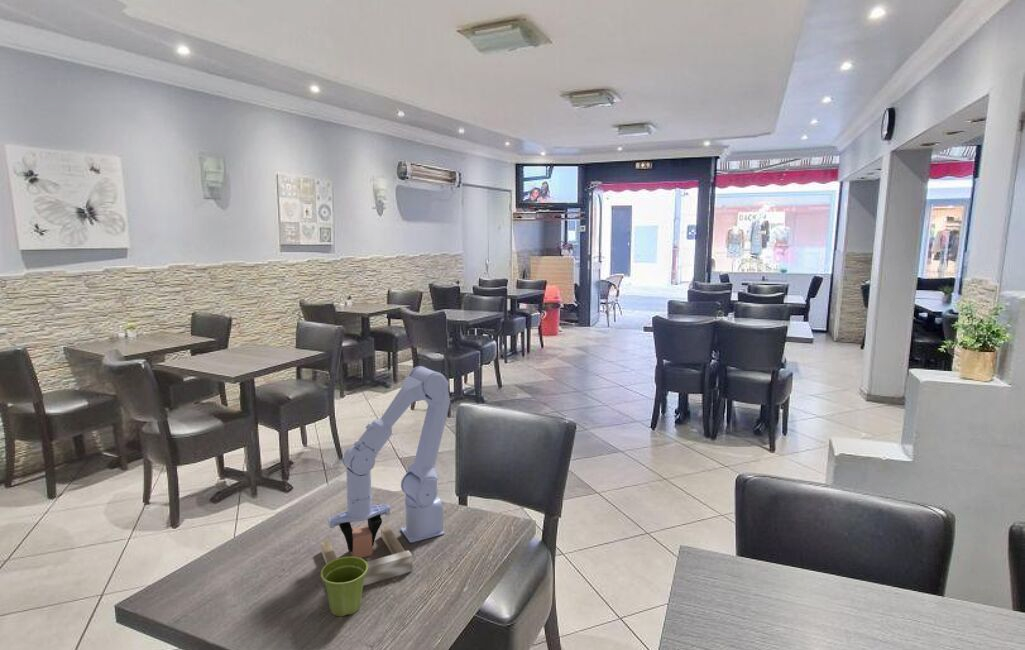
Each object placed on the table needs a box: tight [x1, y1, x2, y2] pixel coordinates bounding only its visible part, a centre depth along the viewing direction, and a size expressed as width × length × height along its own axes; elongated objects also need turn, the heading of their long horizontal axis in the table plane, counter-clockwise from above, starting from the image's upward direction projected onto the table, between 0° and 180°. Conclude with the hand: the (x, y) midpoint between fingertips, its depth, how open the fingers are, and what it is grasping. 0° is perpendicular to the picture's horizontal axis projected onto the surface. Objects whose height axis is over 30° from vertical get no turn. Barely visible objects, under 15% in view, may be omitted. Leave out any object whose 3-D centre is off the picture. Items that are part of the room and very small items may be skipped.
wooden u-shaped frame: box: [320, 525, 413, 587], centre depth 130 cm, size 17×18×4 cm
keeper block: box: [349, 525, 373, 559], centre depth 133 cm, size 4×4×6 cm
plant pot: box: [320, 556, 368, 617], centre depth 113 cm, size 9×9×9 cm
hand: (360, 547), depth 133 cm, fingers closed on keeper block, 4 cm apart
